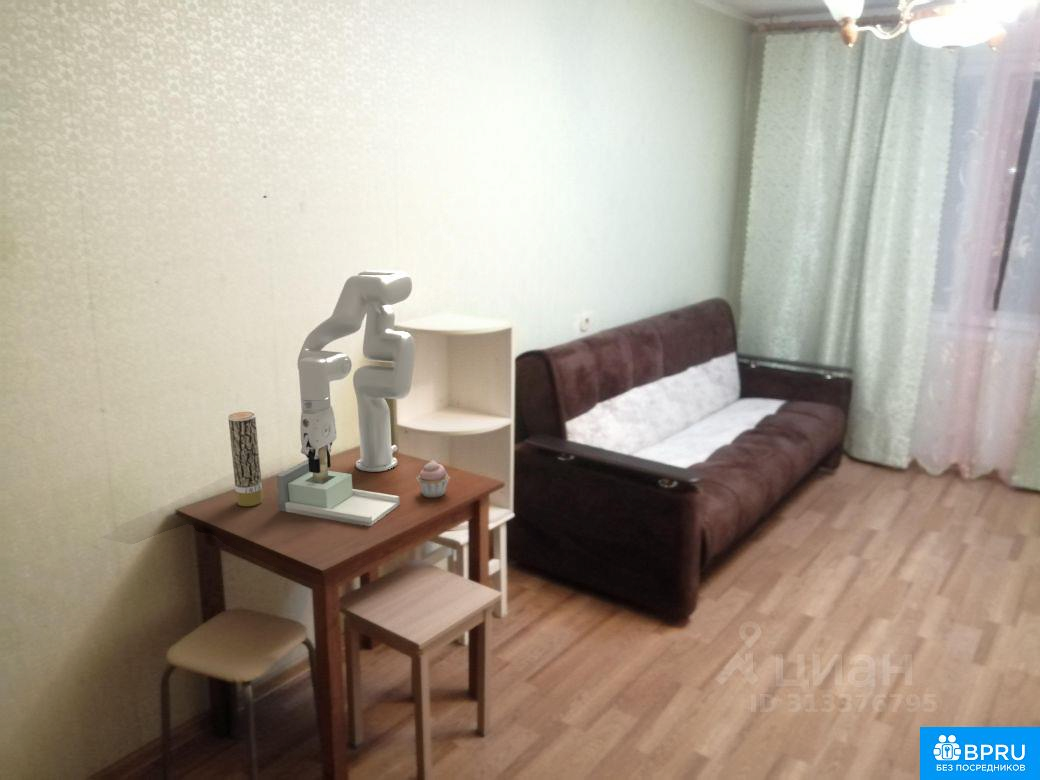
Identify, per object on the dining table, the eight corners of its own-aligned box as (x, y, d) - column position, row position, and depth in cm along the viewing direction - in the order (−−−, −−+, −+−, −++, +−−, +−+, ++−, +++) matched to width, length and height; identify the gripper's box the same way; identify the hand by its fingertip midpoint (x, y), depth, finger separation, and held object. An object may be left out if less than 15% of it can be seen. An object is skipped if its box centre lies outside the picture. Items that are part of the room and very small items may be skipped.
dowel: (320, 478, 214) (317, 436, 211) (331, 480, 213) (328, 438, 210) (310, 483, 211) (307, 440, 208) (321, 485, 209) (318, 442, 206)
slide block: (316, 488, 221) (314, 468, 219) (352, 494, 217) (351, 474, 215) (289, 504, 210) (287, 483, 209) (327, 511, 206) (325, 489, 204)
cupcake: (450, 486, 226) (449, 454, 224) (450, 499, 217) (449, 465, 215) (417, 487, 226) (416, 455, 223) (416, 500, 217) (414, 466, 214)
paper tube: (231, 504, 214) (222, 417, 207) (249, 496, 219) (241, 410, 213) (250, 509, 211) (241, 420, 204) (268, 500, 217) (260, 413, 210)
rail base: (313, 490, 223) (310, 457, 221) (399, 504, 214) (398, 470, 211) (279, 510, 210) (276, 475, 207) (370, 526, 200) (368, 490, 198)
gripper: (308, 413, 197) (313, 481, 202) (345, 397, 212) (349, 461, 217) (283, 410, 200) (289, 478, 205) (322, 395, 215) (326, 458, 220)
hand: (320, 468), depth 211 cm, fingers closed on dowel, 3 cm apart
